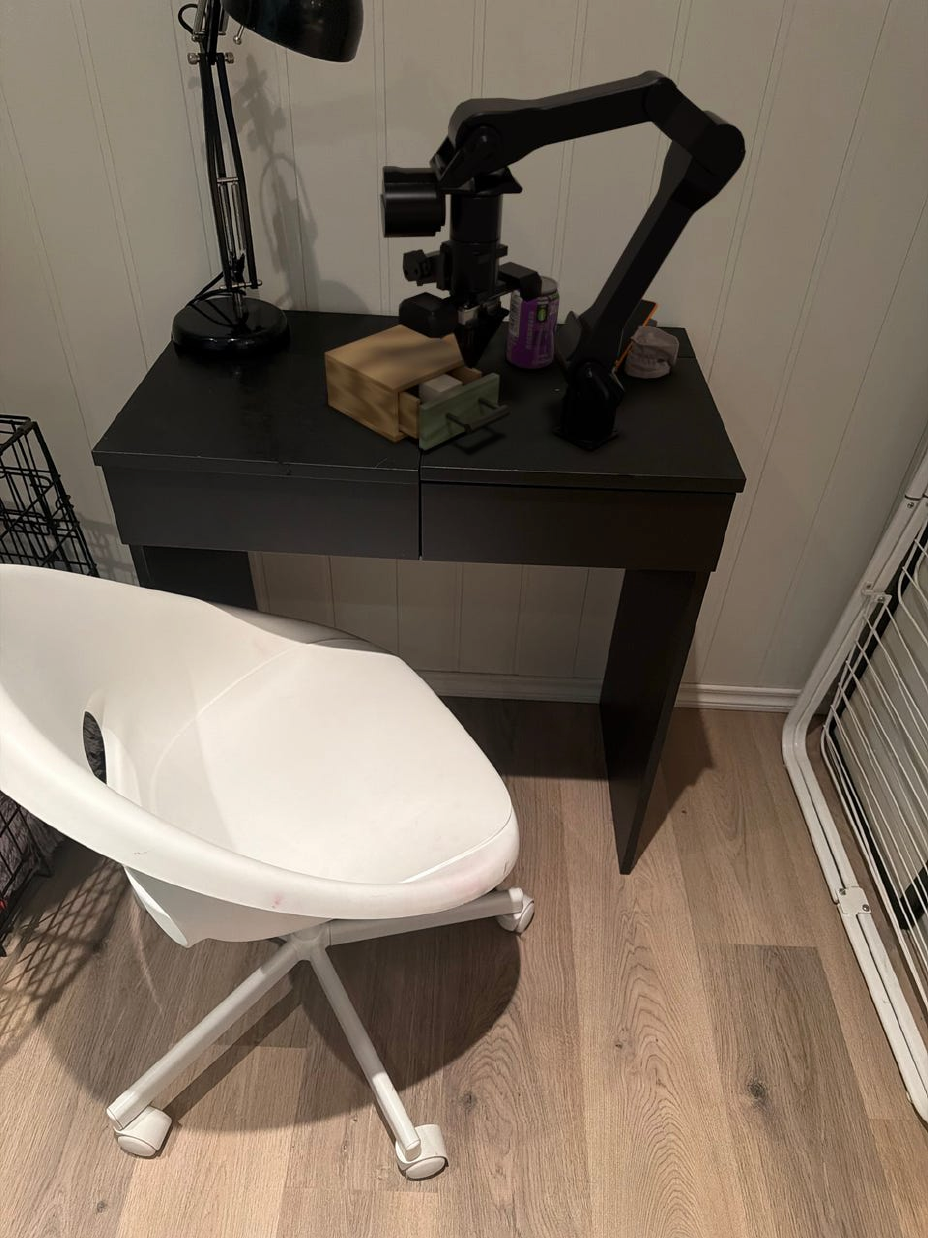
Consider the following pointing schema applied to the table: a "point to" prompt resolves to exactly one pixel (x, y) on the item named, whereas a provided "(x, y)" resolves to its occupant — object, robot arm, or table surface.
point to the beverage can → (533, 327)
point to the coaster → (450, 339)
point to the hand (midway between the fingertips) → (470, 366)
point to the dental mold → (651, 353)
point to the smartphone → (635, 326)
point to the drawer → (451, 408)
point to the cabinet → (384, 374)
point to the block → (437, 387)
